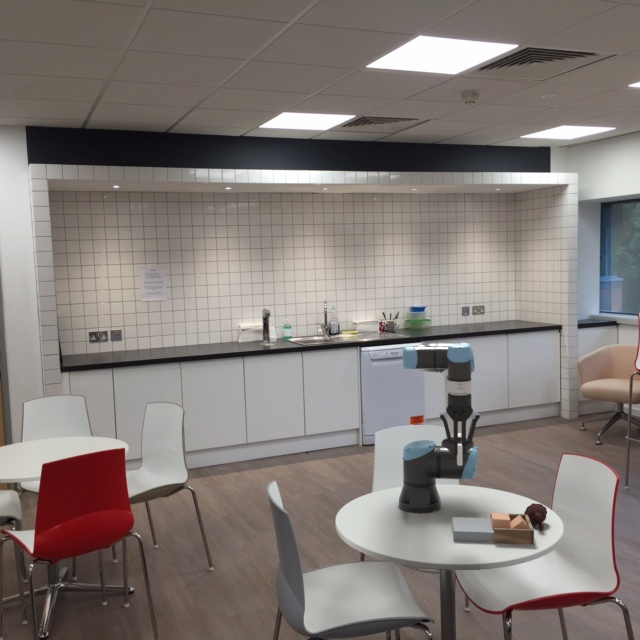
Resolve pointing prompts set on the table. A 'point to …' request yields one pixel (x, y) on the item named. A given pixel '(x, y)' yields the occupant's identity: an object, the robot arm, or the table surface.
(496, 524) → the tile
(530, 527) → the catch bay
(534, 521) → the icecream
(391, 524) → the table surface
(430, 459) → the robot arm
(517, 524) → the tile
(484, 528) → the board
